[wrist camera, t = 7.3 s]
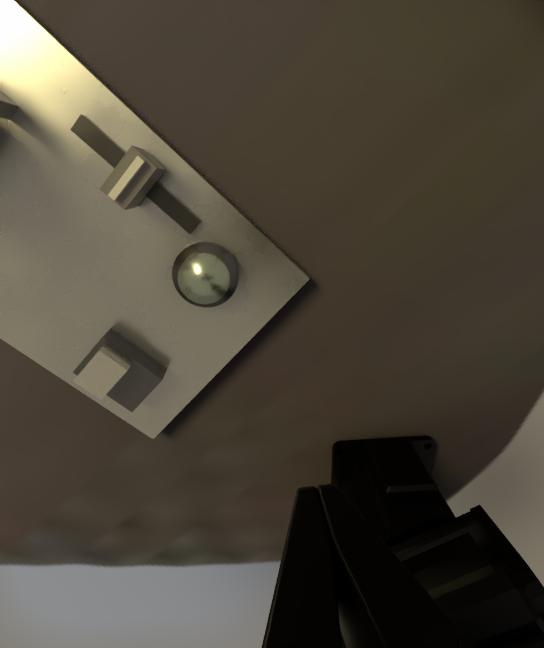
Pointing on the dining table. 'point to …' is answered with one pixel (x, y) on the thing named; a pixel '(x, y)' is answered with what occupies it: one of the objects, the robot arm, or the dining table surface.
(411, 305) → the dining table surface
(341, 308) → the dining table surface
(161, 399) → the switch panel
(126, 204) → the fader knob
